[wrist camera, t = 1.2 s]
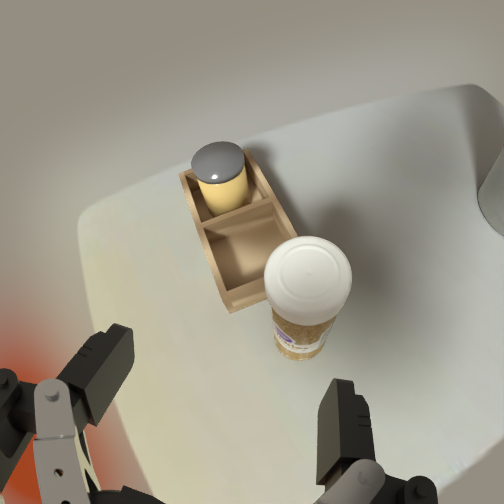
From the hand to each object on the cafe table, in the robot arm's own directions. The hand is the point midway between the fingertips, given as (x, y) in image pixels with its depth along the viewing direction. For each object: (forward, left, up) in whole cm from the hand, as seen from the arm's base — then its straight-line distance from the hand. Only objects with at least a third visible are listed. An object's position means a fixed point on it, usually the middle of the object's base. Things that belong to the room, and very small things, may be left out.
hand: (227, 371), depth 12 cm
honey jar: (-14, -15, -15) cm, 25 cm away
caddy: (-12, -12, -16) cm, 23 cm away
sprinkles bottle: (-6, 0, -16) cm, 17 cm away
